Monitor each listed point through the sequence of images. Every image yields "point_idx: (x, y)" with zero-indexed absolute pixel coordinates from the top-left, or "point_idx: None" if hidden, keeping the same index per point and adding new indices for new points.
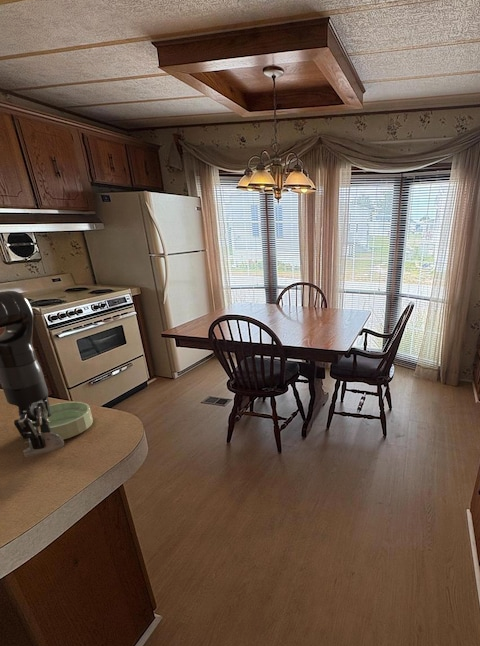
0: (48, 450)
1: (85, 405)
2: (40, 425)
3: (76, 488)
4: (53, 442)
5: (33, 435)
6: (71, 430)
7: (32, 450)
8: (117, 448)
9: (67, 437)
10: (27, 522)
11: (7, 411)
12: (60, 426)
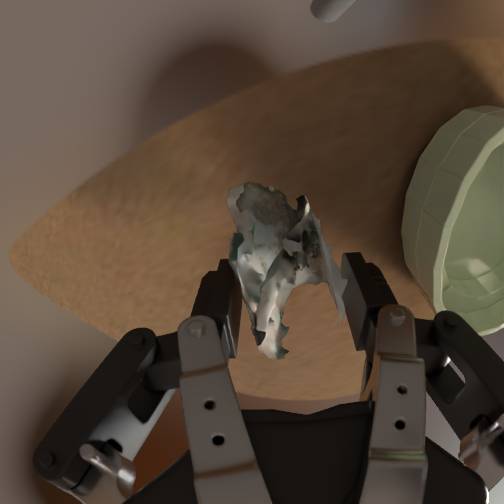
0: (262, 271)
1: None
2: (362, 322)
3: (118, 333)
4: (270, 316)
5: (138, 386)
6: (420, 287)
7: (239, 234)
8: (281, 380)
9: (406, 259)
10: (28, 272)
11: None
12: (431, 284)
